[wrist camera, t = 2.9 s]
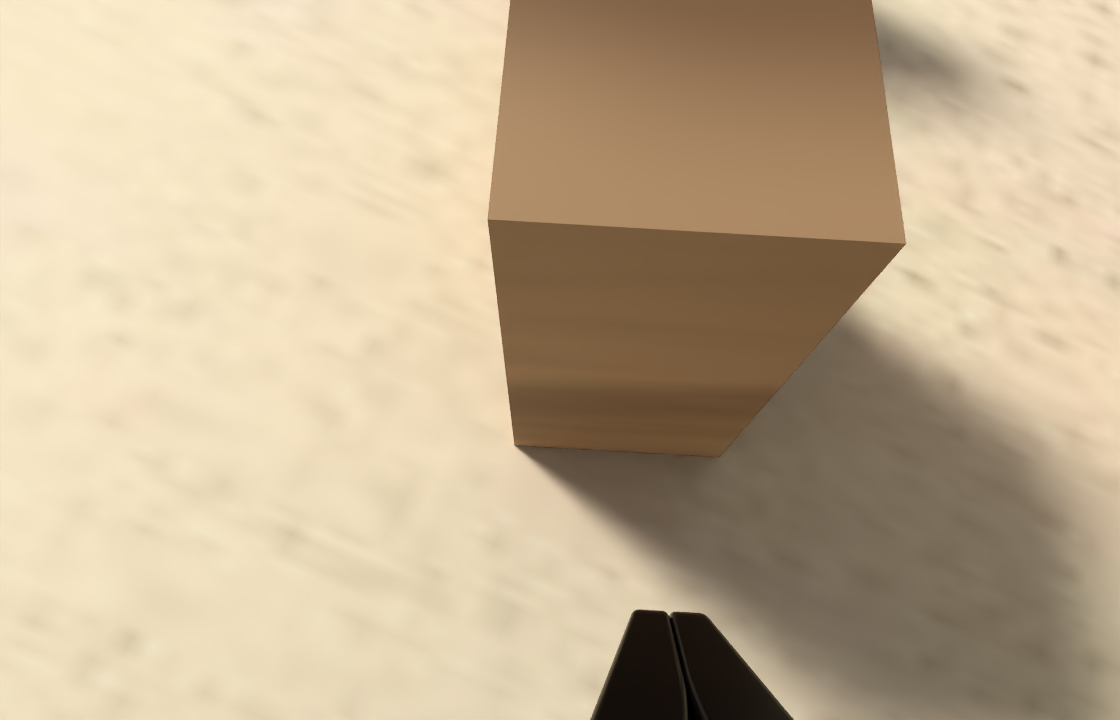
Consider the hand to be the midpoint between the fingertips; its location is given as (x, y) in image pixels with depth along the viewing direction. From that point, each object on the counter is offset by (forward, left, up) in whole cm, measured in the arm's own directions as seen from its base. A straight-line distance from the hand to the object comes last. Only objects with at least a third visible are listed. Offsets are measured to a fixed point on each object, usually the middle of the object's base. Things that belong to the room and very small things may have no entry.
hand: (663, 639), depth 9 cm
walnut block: (+8, -8, -7) cm, 13 cm away
